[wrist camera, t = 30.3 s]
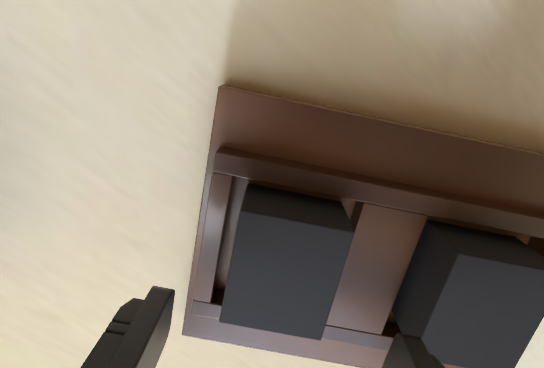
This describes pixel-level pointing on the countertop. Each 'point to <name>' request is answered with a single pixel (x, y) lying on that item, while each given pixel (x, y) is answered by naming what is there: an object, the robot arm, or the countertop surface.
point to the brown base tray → (351, 209)
